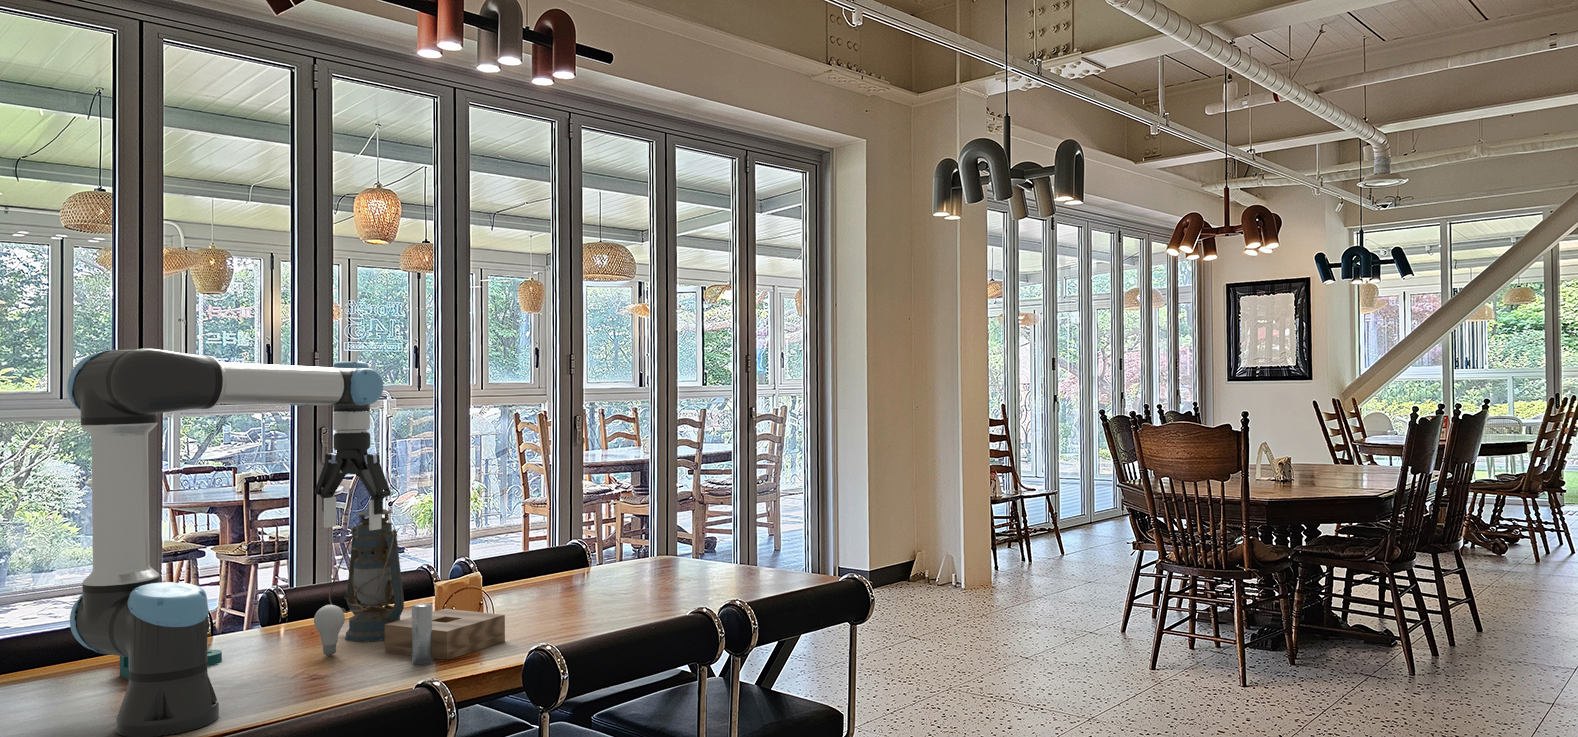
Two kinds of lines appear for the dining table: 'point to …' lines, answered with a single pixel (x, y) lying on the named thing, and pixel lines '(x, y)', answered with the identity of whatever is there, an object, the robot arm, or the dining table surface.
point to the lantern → (373, 580)
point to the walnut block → (449, 633)
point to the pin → (421, 634)
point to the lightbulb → (329, 626)
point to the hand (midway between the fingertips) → (352, 528)
